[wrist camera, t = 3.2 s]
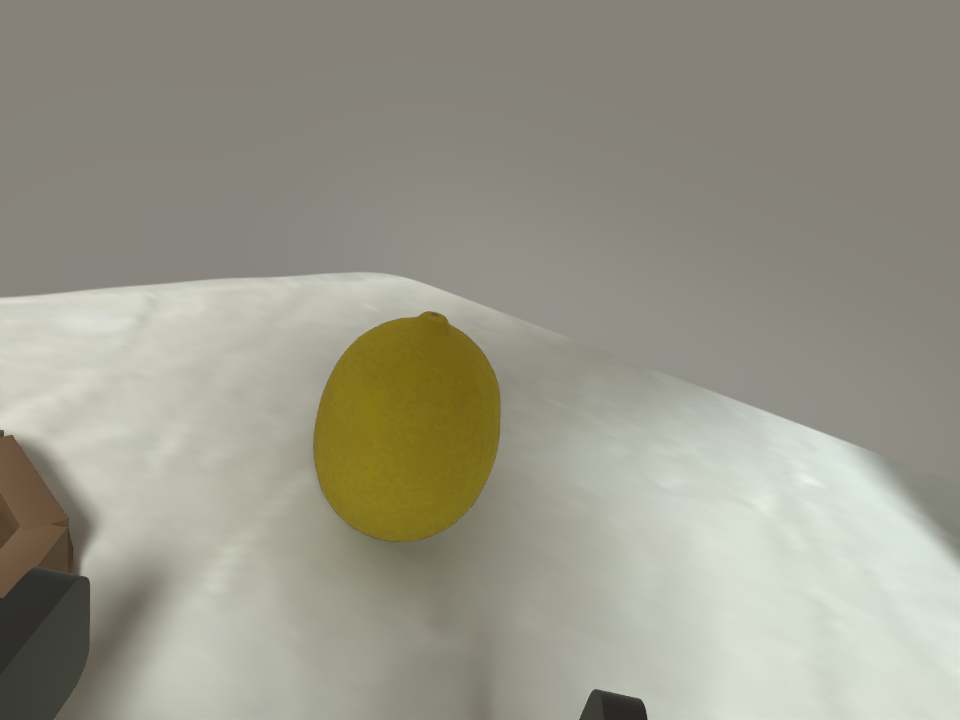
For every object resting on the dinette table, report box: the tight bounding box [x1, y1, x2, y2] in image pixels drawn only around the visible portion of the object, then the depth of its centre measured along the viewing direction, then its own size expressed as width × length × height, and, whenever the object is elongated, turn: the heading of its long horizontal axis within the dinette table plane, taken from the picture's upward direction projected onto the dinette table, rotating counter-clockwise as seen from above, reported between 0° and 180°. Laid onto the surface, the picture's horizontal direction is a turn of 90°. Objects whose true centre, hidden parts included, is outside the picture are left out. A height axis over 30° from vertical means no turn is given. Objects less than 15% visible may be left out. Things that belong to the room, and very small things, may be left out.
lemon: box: [313, 312, 500, 542], centre depth 22 cm, size 6×6×8 cm
